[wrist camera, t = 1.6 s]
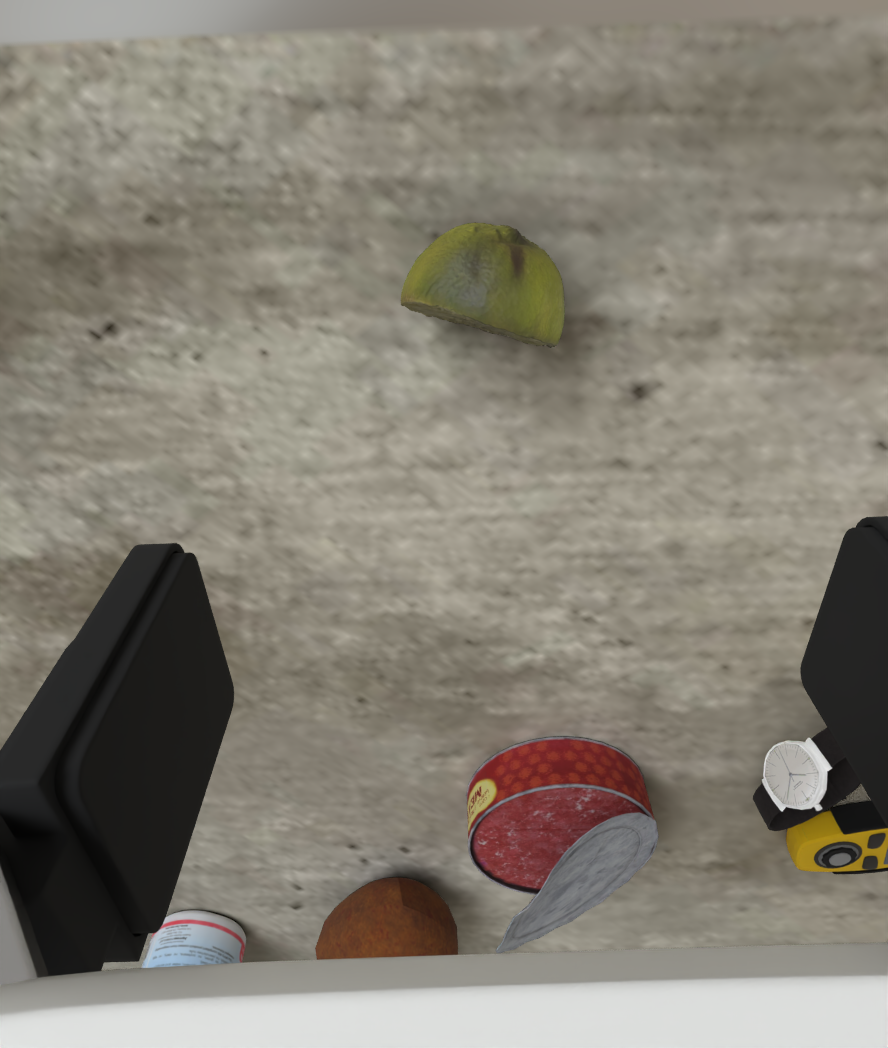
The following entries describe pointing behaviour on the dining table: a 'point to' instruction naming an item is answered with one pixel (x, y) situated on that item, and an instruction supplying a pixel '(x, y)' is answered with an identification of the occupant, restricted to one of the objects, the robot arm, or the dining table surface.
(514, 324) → the lime
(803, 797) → the watch
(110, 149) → the dining table surface
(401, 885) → the potato
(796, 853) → the yellow walkie talkie
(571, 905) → the canned food
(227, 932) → the pill bottle
